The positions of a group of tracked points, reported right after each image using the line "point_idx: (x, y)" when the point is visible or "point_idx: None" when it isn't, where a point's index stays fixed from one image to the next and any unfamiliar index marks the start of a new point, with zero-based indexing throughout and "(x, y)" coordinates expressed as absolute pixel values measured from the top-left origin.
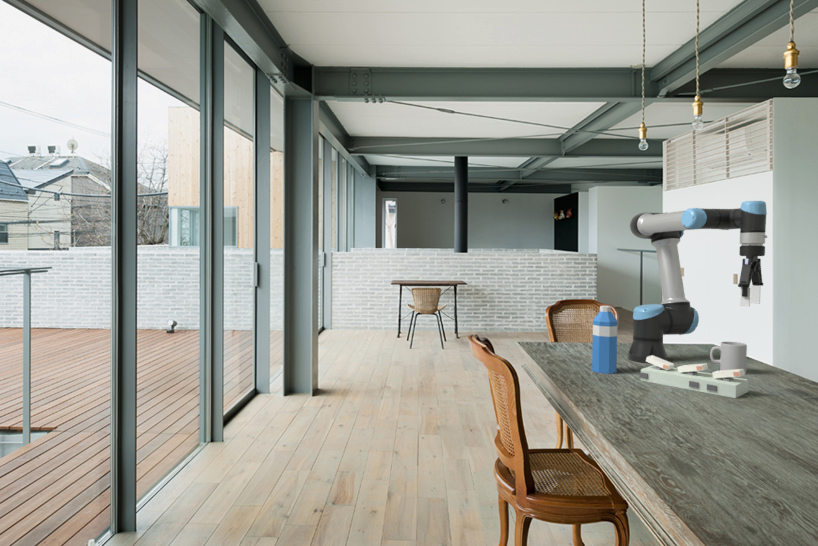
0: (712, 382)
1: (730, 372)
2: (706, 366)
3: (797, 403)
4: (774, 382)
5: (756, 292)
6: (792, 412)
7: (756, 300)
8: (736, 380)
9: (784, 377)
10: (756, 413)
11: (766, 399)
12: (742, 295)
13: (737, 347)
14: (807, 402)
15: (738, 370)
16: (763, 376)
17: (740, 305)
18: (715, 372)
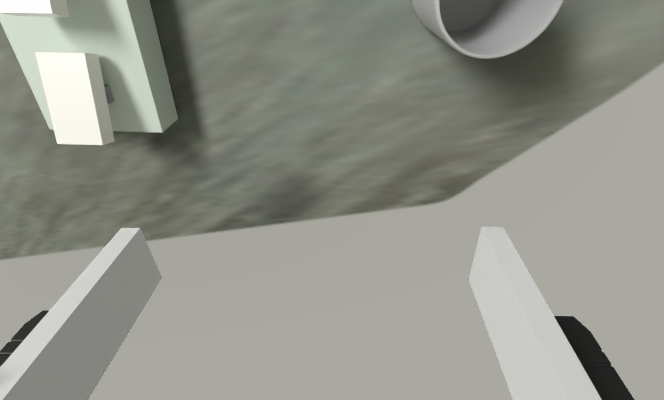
0: (21, 62)
1: (52, 115)
2: (51, 15)
3: (175, 217)
4: (366, 139)
5: (511, 357)
6: (92, 222)
7: (481, 284)
8: (114, 111)
9: (469, 143)
10: (7, 181)
11: (144, 168)
12: (32, 323)
13: (437, 29)
14: (204, 227)
15: (66, 138)
16: (441, 94)
17: (120, 231)
18: (38, 64)
